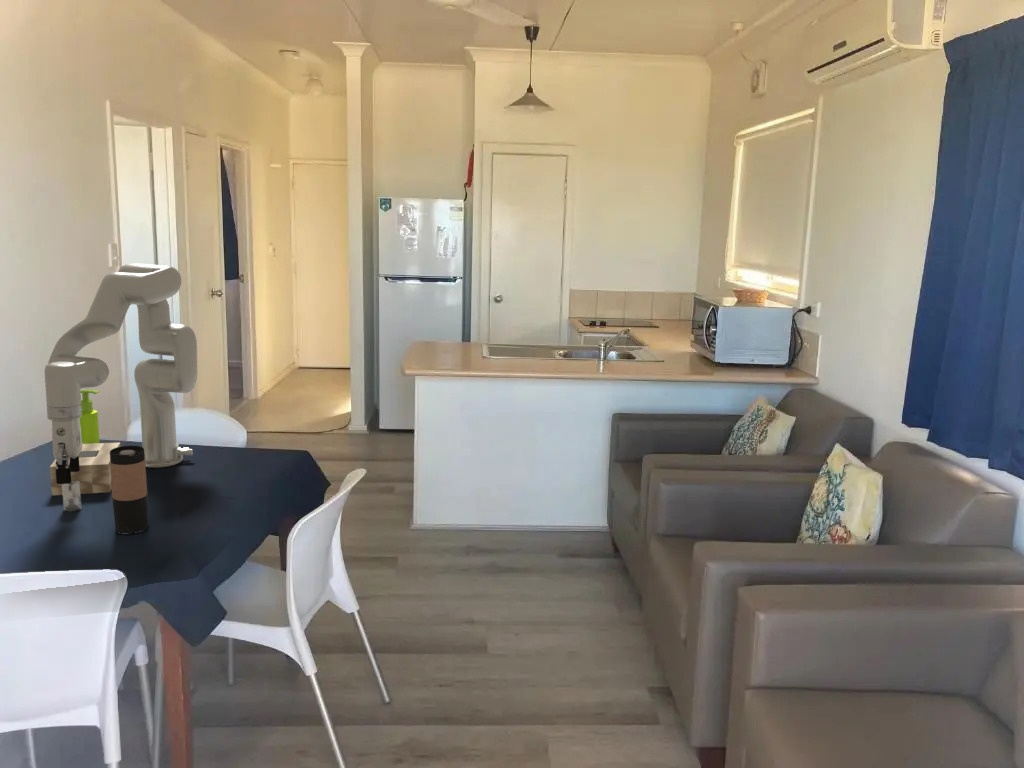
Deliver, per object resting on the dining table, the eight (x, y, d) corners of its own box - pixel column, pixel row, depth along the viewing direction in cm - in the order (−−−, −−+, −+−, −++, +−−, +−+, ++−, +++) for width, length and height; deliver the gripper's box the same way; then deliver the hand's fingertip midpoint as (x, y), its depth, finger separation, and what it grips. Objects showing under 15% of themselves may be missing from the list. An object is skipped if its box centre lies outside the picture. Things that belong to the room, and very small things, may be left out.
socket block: (121, 468, 238) (120, 442, 237) (110, 492, 220) (108, 464, 218) (68, 471, 234) (66, 444, 232) (52, 495, 216) (49, 466, 214)
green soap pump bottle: (97, 456, 248) (93, 392, 244) (75, 455, 248) (70, 391, 244) (107, 450, 254) (103, 388, 249) (85, 449, 254) (80, 387, 249)
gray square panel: (98, 453, 228) (98, 450, 228) (95, 459, 224) (94, 456, 224) (78, 454, 227) (78, 451, 227) (75, 460, 222) (74, 457, 222)
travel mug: (121, 522, 201) (116, 445, 196) (153, 522, 201) (149, 445, 197) (109, 534, 193) (103, 454, 189) (142, 535, 194) (137, 455, 189)
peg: (83, 505, 210) (81, 480, 208) (79, 511, 206) (77, 485, 205) (65, 506, 209) (63, 480, 207) (62, 512, 205) (60, 486, 203)
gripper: (73, 419, 195) (77, 487, 198) (88, 403, 211) (91, 466, 214) (38, 420, 192) (43, 489, 196) (55, 404, 209) (59, 467, 212)
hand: (68, 477), depth 205 cm, fingers open, 9 cm apart
